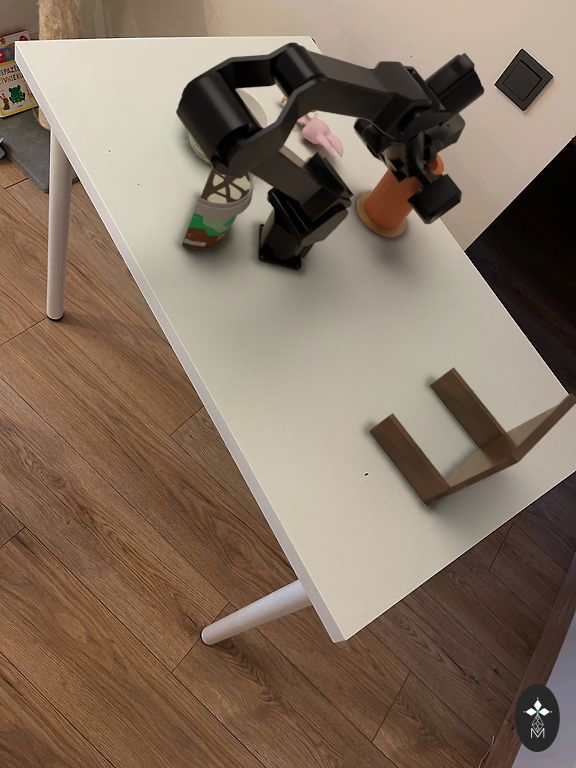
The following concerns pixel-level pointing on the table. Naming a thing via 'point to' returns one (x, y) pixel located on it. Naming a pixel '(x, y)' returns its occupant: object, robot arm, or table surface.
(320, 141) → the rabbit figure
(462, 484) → the wooden stand
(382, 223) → the jar
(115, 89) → the table surface
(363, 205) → the disc
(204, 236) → the food container
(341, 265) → the table surface
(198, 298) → the table surface
